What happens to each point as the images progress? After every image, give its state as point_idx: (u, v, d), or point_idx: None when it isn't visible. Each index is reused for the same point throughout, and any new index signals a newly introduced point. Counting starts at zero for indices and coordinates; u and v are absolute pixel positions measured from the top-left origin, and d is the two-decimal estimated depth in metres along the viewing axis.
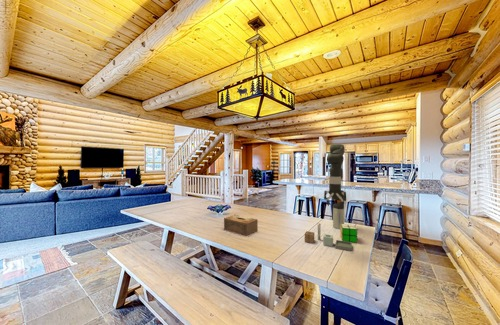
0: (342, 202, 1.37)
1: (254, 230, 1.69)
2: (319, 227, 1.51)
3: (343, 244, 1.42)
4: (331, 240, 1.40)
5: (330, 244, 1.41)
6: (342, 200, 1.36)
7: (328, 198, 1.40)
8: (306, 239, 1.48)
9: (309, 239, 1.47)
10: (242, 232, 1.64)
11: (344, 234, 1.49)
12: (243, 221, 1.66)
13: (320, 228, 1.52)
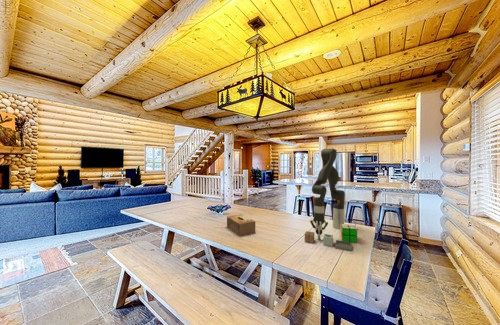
0: (321, 230, 1.51)
1: (250, 232, 1.65)
2: (319, 227, 1.51)
3: (343, 244, 1.42)
4: (331, 240, 1.40)
5: (330, 244, 1.41)
6: (321, 229, 1.50)
7: (316, 227, 1.52)
8: (306, 239, 1.48)
9: (309, 239, 1.47)
10: (237, 232, 1.64)
11: (344, 234, 1.49)
12: (239, 221, 1.66)
13: None
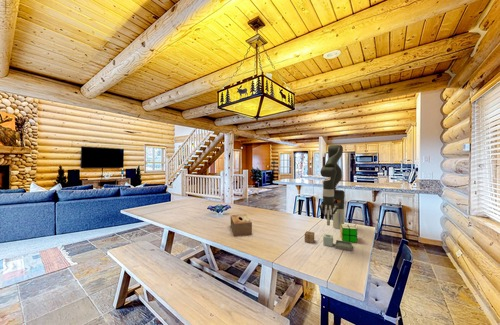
0: None
1: (246, 233, 1.62)
2: (328, 212, 1.43)
3: (343, 244, 1.42)
4: (331, 240, 1.40)
5: (330, 244, 1.41)
6: (330, 213, 1.42)
7: (325, 212, 1.43)
8: (306, 239, 1.48)
9: (309, 239, 1.47)
10: (233, 231, 1.65)
11: (344, 234, 1.49)
12: (236, 221, 1.66)
13: (329, 213, 1.43)
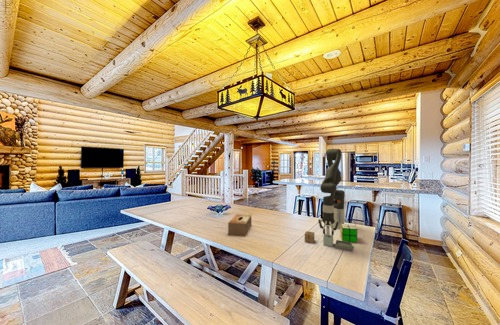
0: None
1: (240, 233, 1.61)
2: (328, 230, 1.43)
3: (343, 244, 1.42)
4: (331, 240, 1.40)
5: (330, 244, 1.41)
6: (332, 229, 1.41)
7: (324, 227, 1.44)
8: (306, 239, 1.48)
9: (309, 239, 1.47)
10: None
11: (344, 234, 1.49)
12: (233, 220, 1.68)
13: (329, 231, 1.43)
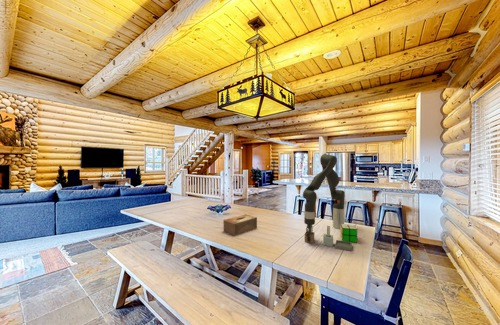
0: (307, 237, 1.47)
1: (230, 232, 1.63)
2: (328, 230, 1.43)
3: (343, 244, 1.42)
4: (331, 240, 1.40)
5: (330, 244, 1.41)
6: None
7: None
8: (306, 239, 1.48)
9: None
10: None
11: (344, 234, 1.49)
12: (230, 219, 1.73)
13: None
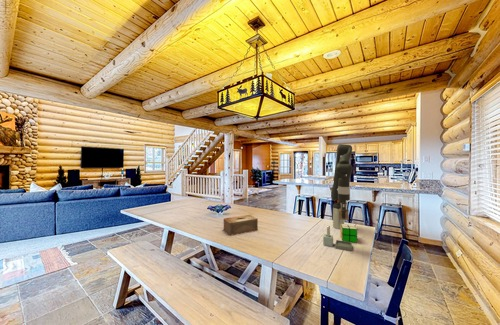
0: (342, 213, 1.36)
1: (227, 231, 1.66)
2: (328, 230, 1.43)
3: (343, 244, 1.42)
4: (331, 240, 1.40)
5: (330, 244, 1.41)
6: (341, 211, 1.36)
7: None
8: (340, 216, 1.37)
9: None
10: None
11: (344, 234, 1.49)
12: (230, 218, 1.75)
13: (329, 231, 1.43)
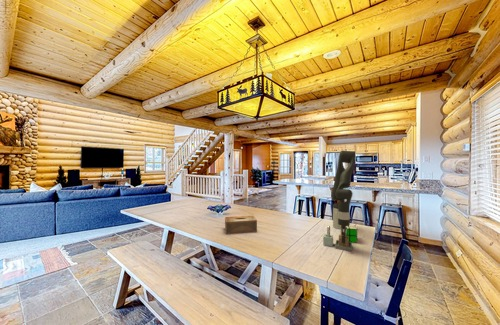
0: (342, 238, 1.36)
1: None
2: (329, 230, 1.43)
3: None
4: (331, 240, 1.40)
5: (330, 244, 1.41)
6: (341, 236, 1.36)
7: None
8: (340, 244, 1.38)
9: (344, 244, 1.37)
10: None
11: None
12: (231, 217, 1.78)
13: None
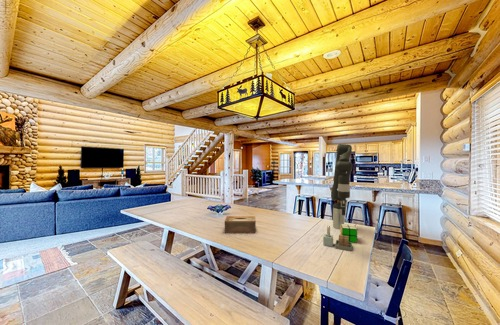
0: None
1: None
2: (329, 230, 1.43)
3: None
4: (331, 240, 1.40)
5: (330, 244, 1.41)
6: (341, 208, 1.36)
7: None
8: (340, 244, 1.38)
9: (344, 244, 1.37)
10: None
11: (344, 234, 1.49)
12: (232, 217, 1.79)
13: None
